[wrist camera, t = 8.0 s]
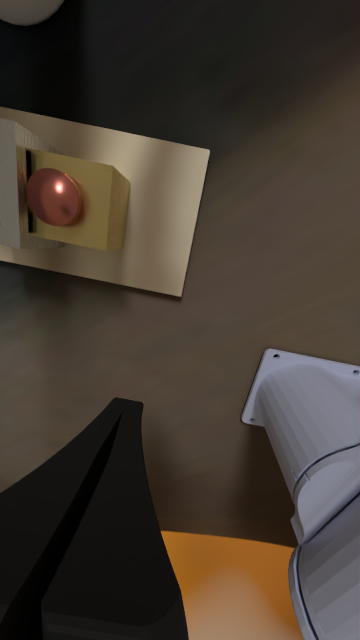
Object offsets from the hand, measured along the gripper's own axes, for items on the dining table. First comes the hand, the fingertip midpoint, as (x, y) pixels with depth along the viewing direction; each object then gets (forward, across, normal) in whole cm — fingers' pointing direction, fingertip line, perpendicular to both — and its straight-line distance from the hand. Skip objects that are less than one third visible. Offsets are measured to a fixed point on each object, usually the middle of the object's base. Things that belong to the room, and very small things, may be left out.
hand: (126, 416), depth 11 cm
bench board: (+10, +8, -9) cm, 16 cm away
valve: (+9, +7, -9) cm, 15 cm away
